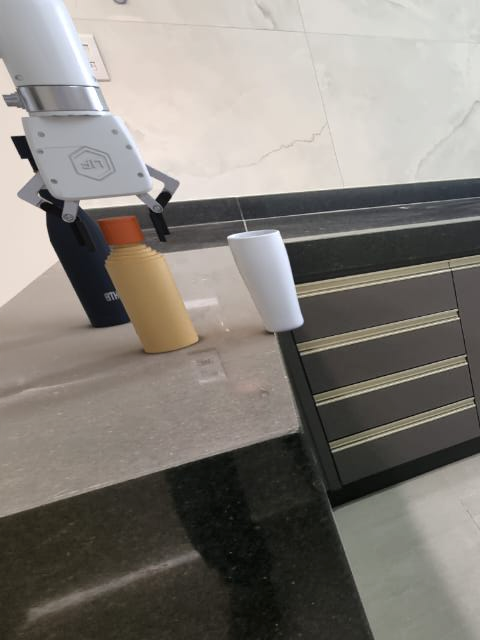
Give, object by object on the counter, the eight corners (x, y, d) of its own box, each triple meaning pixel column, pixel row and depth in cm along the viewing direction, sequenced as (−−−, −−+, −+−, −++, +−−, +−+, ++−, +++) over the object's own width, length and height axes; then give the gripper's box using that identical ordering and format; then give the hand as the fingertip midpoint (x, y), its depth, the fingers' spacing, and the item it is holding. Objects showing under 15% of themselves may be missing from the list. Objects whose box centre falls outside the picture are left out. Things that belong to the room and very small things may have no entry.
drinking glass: (298, 318, 89) (268, 228, 83) (317, 324, 85) (287, 231, 79) (253, 331, 84) (218, 236, 78) (272, 338, 80) (236, 239, 74)
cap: (132, 244, 72) (121, 219, 71) (99, 246, 71) (88, 221, 70) (152, 238, 76) (142, 214, 74) (121, 240, 75) (111, 216, 74)
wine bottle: (112, 316, 95) (25, 136, 83) (150, 313, 96) (69, 134, 84) (81, 328, 89) (-17, 137, 77) (122, 325, 90) (31, 134, 78)
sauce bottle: (134, 351, 78) (74, 226, 70) (179, 335, 83) (128, 218, 76) (165, 354, 76) (107, 227, 69) (208, 338, 82) (159, 218, 74)
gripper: (-44, 103, 59) (38, 261, 66) (156, 101, 69) (208, 238, 76) (-31, 107, 64) (44, 253, 71) (154, 105, 74) (203, 232, 82)
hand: (129, 244), depth 74 cm, fingers open, 6 cm apart
